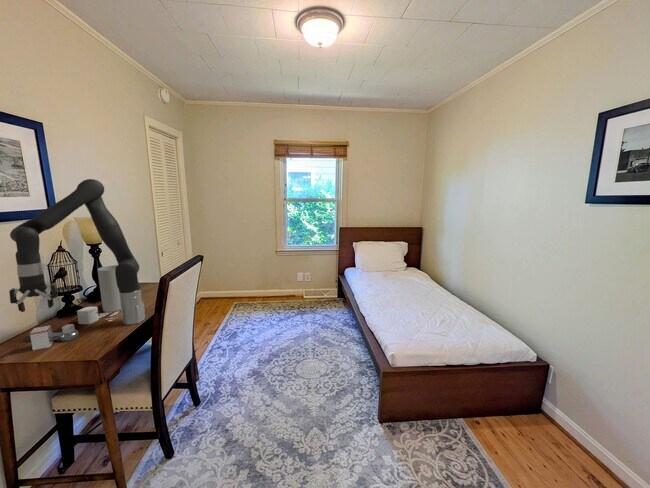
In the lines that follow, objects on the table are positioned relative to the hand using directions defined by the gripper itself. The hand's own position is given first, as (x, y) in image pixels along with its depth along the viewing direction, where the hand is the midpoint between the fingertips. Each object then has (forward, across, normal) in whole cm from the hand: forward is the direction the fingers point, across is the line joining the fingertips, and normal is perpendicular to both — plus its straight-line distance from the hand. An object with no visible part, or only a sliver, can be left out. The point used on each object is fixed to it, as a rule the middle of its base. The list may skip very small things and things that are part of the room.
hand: (37, 309), depth 121 cm
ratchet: (+17, -2, -6) cm, 18 cm away
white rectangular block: (+17, 0, 0) cm, 17 cm away
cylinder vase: (+17, -24, -35) cm, 46 cm away
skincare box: (+17, -13, -21) cm, 30 cm away
